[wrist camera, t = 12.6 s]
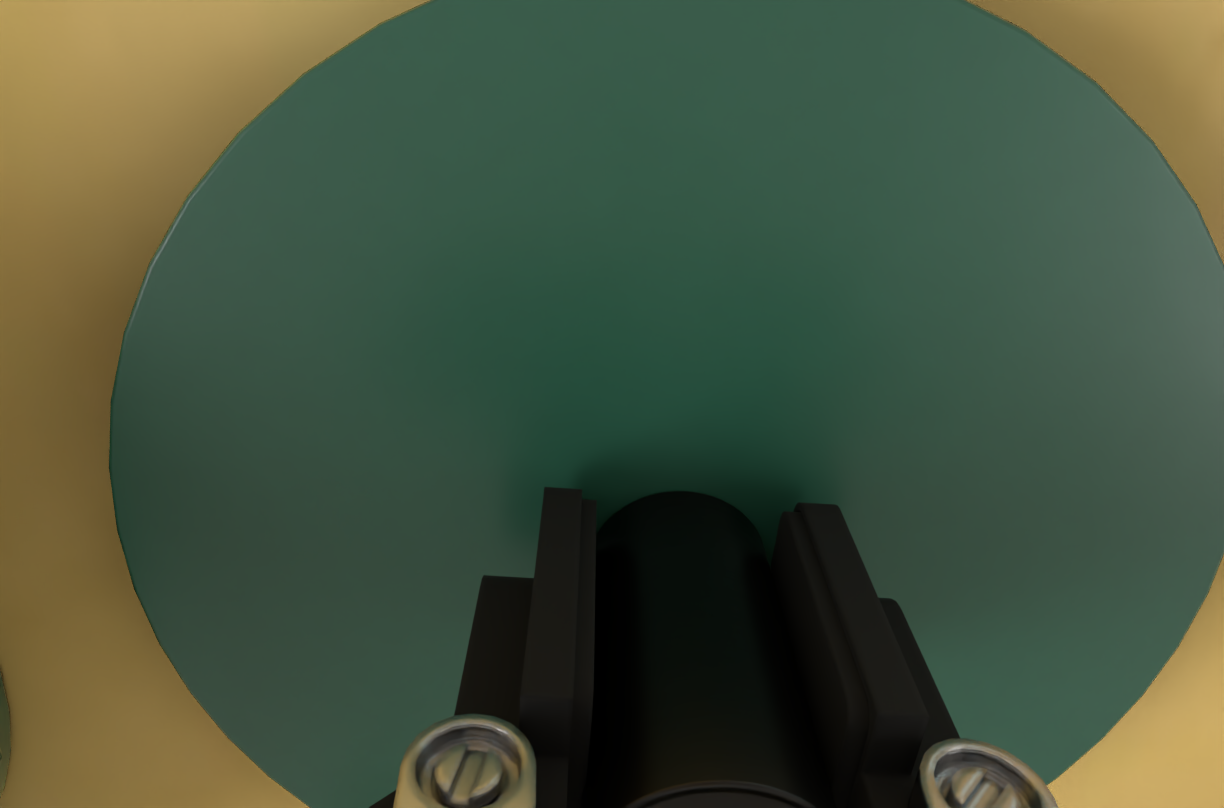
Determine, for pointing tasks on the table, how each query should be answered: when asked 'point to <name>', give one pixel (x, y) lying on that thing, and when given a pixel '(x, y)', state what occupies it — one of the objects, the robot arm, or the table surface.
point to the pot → (4, 736)
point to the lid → (674, 382)
